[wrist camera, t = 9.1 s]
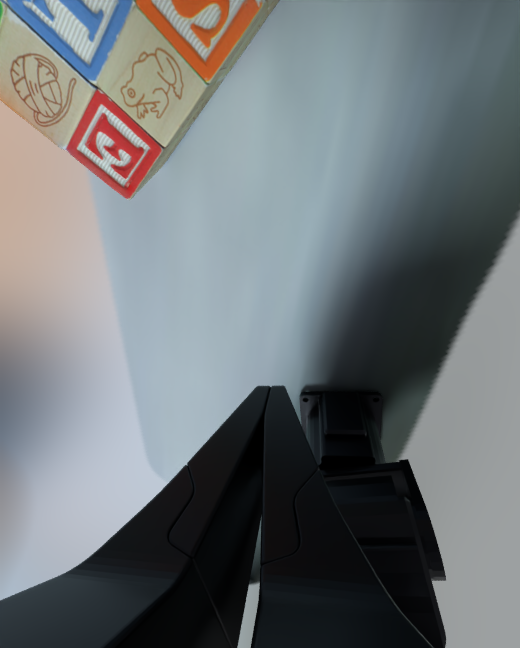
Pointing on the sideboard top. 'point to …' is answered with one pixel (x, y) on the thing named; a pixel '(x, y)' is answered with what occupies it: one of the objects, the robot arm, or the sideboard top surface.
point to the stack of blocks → (120, 74)
